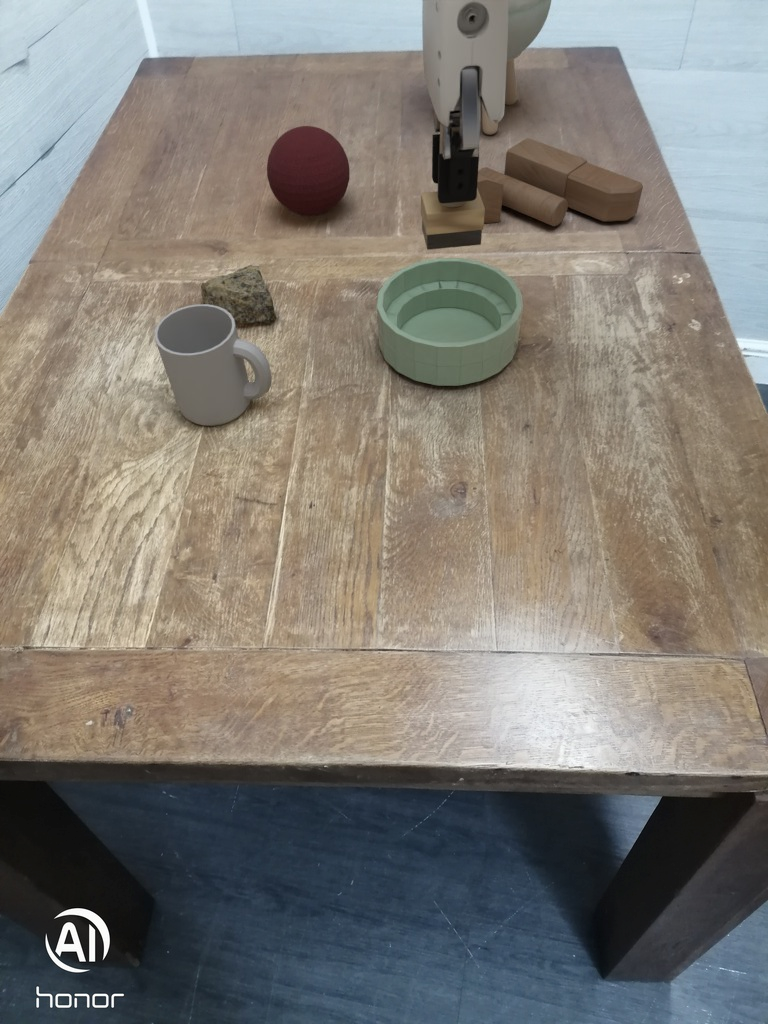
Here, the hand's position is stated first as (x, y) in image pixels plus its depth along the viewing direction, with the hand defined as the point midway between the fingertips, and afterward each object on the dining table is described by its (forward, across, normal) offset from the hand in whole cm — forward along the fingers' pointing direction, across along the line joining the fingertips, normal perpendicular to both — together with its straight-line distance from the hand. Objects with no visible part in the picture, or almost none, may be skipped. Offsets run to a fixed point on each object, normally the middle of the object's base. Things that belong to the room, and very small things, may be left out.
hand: (453, 188), depth 65 cm
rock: (+18, +11, +21) cm, 30 cm away
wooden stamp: (+5, 0, 0) cm, 5 cm away
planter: (+18, +51, -13) cm, 55 cm away
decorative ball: (+18, +30, +12) cm, 37 cm away
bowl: (+18, +1, 0) cm, 18 cm away
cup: (+18, -4, +22) cm, 29 cm away
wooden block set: (+18, +22, -14) cm, 32 cm away
